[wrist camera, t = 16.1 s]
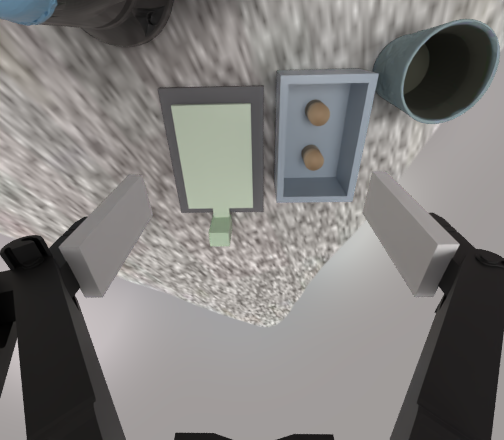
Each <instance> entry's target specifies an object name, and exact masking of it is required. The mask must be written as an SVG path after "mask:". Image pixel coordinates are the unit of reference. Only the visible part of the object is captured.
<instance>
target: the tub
mask: <svg viewBox="0 0 504 440" xmlns="http://www.w3.org/2000/svg"><path fill="white" fill-rule="evenodd" d="M378 75H379V73H375V72H371V71H367V70H363V69H359V68H352V69H309V70H277V86H276V126H275V166H274V184H275V193H276V201H277V203H278V202H352V201H353V196H354V191H355V186H356V182H357V177H358V172H359V167H360V162H361V157H362V153H363V148H364V143H365V138H366V133H367V128H368V124H369V119H370V114H371V109H372V104H373V99H374V95H375V90H376V85H377V80H378ZM315 99H316V100H320V101H321V102H322V103H324V104H325V105H326V106H327V107H328V108H329V111H330V117H329V120H328V121H327V122H326V123H325V124H324V125H322V126H315V125H313V124H312V123H311V122H310V121H309V119H308V118H307V116H306V114H305V107H306V105H307V104H308V103H309V102H310V101H311V100H315ZM307 145H315V146H317V147H318V149H319V151H320V152H321V154H322V156H323V158H324V164H323V166H322V167H321V168H320V169H318V170H315V171H311V170H309V169H307V168H306V166H305V163H304V161H303V158H302V155H301V153H302V150H303V148H304V147H305V146H307Z"/></svg>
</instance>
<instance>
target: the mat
mask: <svg viewBox="0 0 504 440" xmlns="http://www.w3.org/2000/svg"><path fill="white" fill-rule="evenodd" d="M158 93H159V98H160V103H161V109H162V114H163V119H164V124H165V129H166V135H167V140H168V145H169V150H170V155H171V161H172V166H173V171H174V176H175V181H176V187H177V192H178V197H179V202H180V207H181V213H194V212H213V208H206V209H189V207H188V201H187V196H186V190H185V184H184V178H183V173H182V167H181V161H180V156H179V150H178V144H177V138H176V133H175V127H174V121H173V116H172V110H171V105H175V104H222V103H251V139H252V181H253V208H230V212H263V110H264V86H263V85H262V86H216V87H171V88H158Z"/></svg>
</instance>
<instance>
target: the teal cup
mask: <svg viewBox="0 0 504 440" xmlns="http://www.w3.org/2000/svg"><path fill="white" fill-rule="evenodd" d="M499 58H500V46H499V42H498V38H497V36H496V34H495V33H494V31H493V30H492V29H491V28H490V27H489V26H487V25H486V24H485V23H482V22H480V21H477V20H473V19H460V20H456V21H452V22H449V23H446V24H443V25H440V26H437V27H433V28H430V29H427V30H422V31H418V32H417V33H413V34H408V35H404V36H401V37H399V38H397V39H395V40H393V41H392V42H391V43H389V44H388V45H387V46H386V47H385V48H384V49H383V50H382V52H381V53H380V54H379V56H378V58H377V60H376V62H375V64H374V68H373V72H375V73H379V75H378V80H377V85H376V92H377V93H378V94H379V95H380V96H381V97H382V98H383V99H385V100H387V101H389V102H390V103H391V104H394V105H395V106H396V107H398V108H399V109H400V110H402V111H404V112H405V113H406V114H408V115H409V116H410V117H412V118H413V119H415V120H417V121H419V122H421V123H426V124H438V123H443V122H446V121H449V120H452V119H454V118H456V117H458V116H460V115H461V114H463V113H465V112H466V111H467V110H469V109H470V108H471V107H473V106H474V105H475V104H476V103H477V102H478V101H479V99H481V97H482V96H483V95H484V93H485V92H486V91H487V89H488V88H489V86H490V84H491V82H492V80H493V78H494V75H495V73H496V70H497V67H498V63H499Z"/></svg>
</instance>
